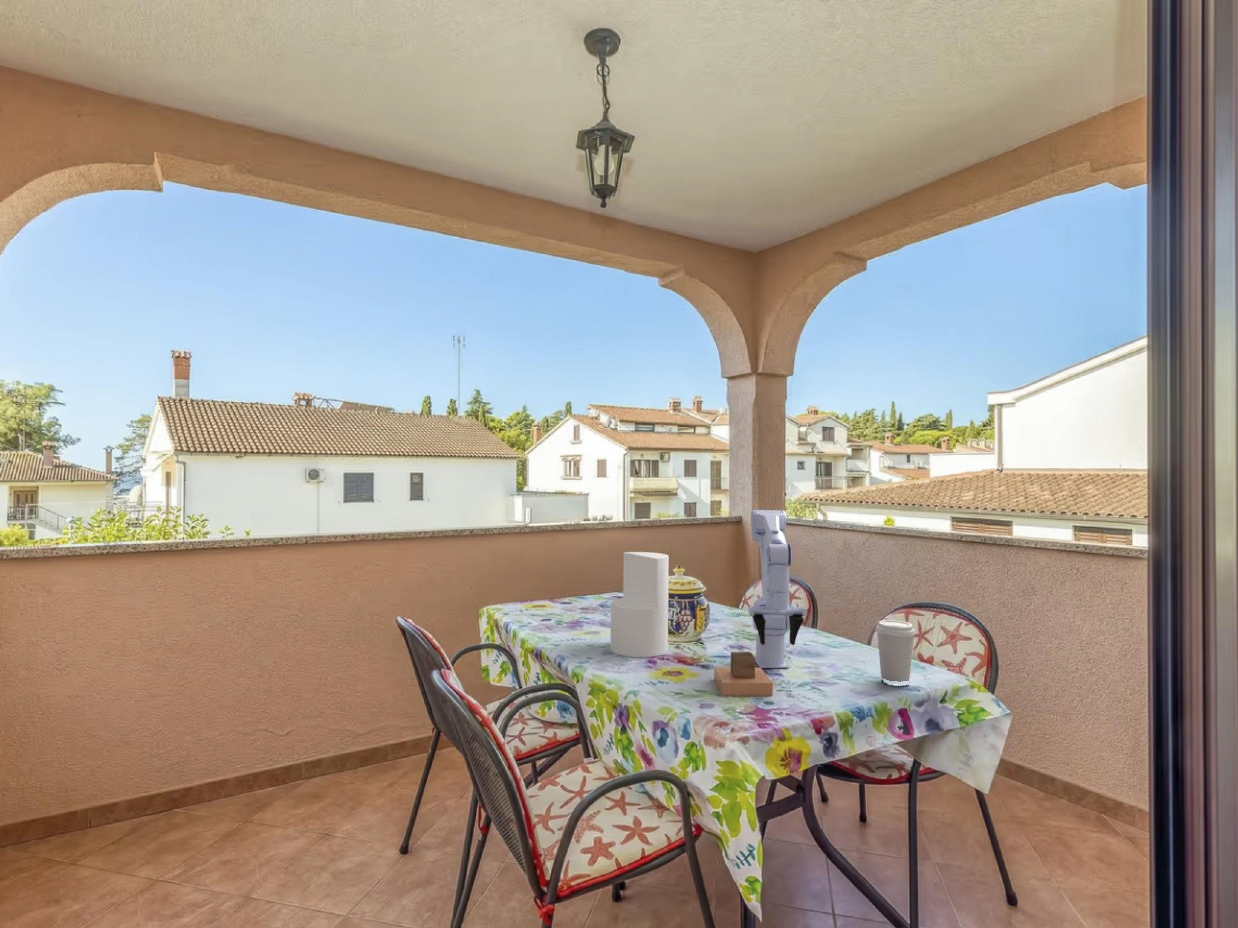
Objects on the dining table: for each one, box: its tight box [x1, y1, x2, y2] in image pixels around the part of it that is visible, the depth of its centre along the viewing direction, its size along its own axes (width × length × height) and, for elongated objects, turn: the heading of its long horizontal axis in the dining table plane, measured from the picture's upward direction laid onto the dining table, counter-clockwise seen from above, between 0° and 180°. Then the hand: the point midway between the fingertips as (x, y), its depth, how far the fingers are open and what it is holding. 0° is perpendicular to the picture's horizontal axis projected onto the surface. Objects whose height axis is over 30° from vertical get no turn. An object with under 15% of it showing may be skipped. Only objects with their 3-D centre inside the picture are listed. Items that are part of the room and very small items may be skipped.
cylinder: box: [609, 551, 670, 658], centre depth 193 cm, size 17×17×28 cm
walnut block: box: [730, 651, 756, 678], centre depth 159 cm, size 5×5×5 cm
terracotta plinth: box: [713, 666, 774, 697], centre depth 159 cm, size 12×12×3 cm
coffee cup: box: [874, 619, 917, 682], centre depth 164 cm, size 10×10×15 cm
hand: (777, 643), depth 164 cm, fingers open, 7 cm apart
